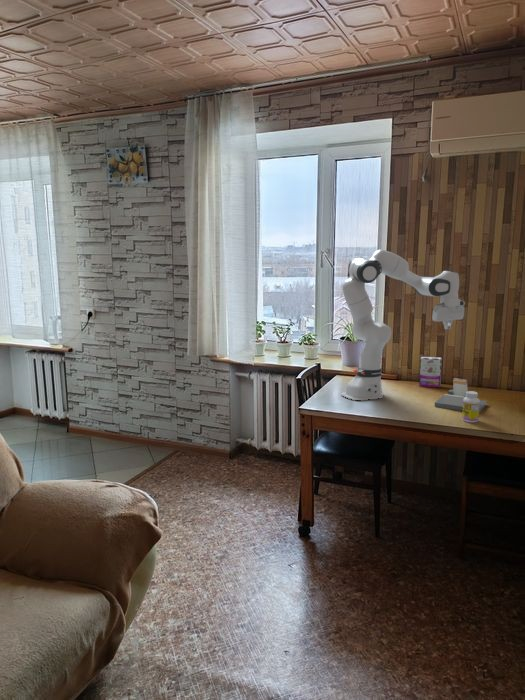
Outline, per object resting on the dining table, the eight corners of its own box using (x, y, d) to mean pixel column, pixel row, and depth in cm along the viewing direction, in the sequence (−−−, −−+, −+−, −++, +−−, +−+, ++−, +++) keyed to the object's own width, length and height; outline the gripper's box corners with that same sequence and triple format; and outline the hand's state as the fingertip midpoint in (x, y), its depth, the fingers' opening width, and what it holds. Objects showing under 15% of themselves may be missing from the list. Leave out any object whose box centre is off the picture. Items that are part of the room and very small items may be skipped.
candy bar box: (440, 386, 278) (442, 357, 275) (440, 388, 274) (441, 359, 271) (419, 384, 283) (421, 356, 280) (418, 386, 278) (420, 357, 275)
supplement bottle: (459, 418, 222) (460, 390, 220) (473, 418, 223) (475, 390, 220) (466, 423, 215) (468, 394, 213) (481, 422, 216) (483, 394, 214)
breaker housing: (478, 413, 229) (479, 398, 228) (434, 406, 240) (435, 392, 239) (486, 405, 242) (487, 391, 240) (443, 398, 253) (444, 385, 252)
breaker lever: (467, 402, 238) (466, 382, 233) (453, 400, 242) (452, 380, 236) (468, 400, 240) (467, 379, 234) (454, 398, 243) (453, 378, 238)
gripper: (439, 303, 249) (438, 331, 251) (467, 301, 259) (465, 328, 261) (430, 303, 254) (428, 329, 257) (457, 301, 264) (455, 326, 267)
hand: (447, 329), depth 259 cm, fingers closed
